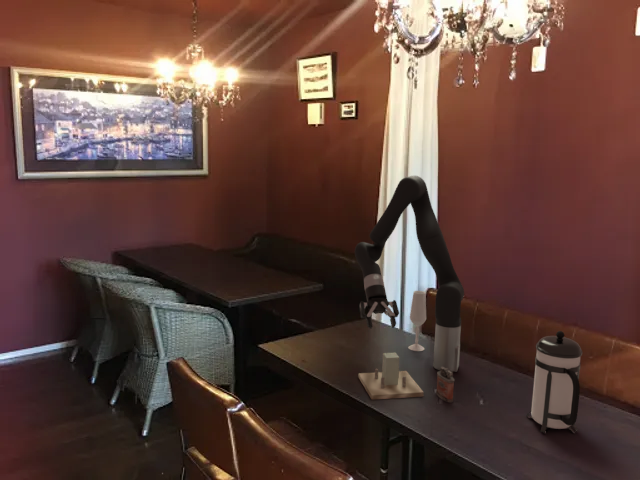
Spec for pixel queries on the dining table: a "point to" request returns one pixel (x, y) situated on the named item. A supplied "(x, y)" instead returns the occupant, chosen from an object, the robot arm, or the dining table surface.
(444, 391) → the lighter
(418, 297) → the champagne flute
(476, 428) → the dining table surface
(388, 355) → the sage block
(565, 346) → the coffee press
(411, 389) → the peg board
